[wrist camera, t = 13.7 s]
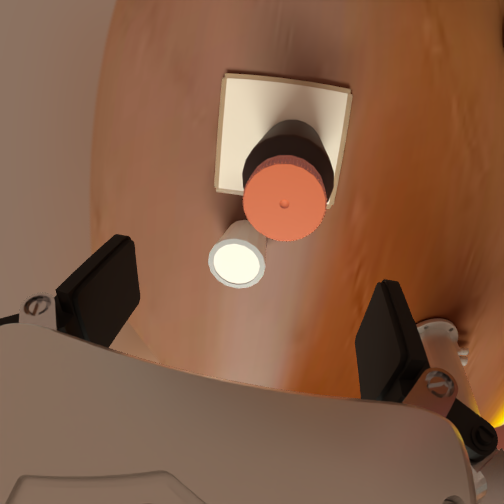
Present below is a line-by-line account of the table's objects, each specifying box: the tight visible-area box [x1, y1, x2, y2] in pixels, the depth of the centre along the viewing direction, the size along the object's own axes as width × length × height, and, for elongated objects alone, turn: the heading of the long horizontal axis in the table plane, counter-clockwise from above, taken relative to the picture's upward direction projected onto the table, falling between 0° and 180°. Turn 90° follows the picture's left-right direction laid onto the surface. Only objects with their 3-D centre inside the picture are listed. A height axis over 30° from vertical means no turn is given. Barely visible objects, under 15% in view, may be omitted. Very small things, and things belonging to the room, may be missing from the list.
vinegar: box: [242, 120, 334, 242], centre depth 26 cm, size 7×7×20 cm
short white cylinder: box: [208, 220, 266, 288], centre depth 39 cm, size 7×7×7 cm
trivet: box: [214, 73, 353, 209], centre depth 35 cm, size 15×15×1 cm
